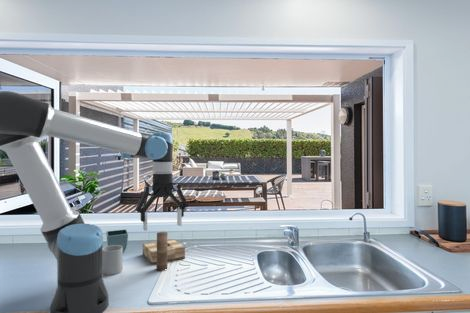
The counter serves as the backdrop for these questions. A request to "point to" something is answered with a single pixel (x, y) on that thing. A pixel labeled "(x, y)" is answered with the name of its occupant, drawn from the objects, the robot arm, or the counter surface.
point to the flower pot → (117, 238)
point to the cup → (112, 259)
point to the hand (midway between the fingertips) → (162, 227)
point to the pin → (161, 251)
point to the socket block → (173, 251)
